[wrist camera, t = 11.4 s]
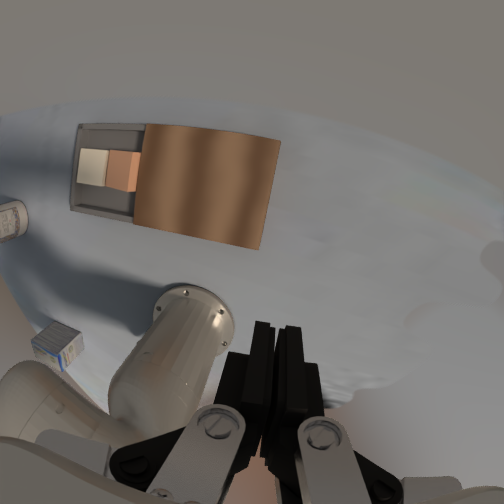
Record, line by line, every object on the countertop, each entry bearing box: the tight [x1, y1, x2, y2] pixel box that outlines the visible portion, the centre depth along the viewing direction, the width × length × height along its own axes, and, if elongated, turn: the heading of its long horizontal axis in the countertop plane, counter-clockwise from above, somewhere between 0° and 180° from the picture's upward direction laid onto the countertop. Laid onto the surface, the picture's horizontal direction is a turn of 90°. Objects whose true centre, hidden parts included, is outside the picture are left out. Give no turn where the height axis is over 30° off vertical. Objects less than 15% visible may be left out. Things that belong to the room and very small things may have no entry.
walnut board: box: [133, 124, 281, 250], centre depth 32 cm, size 16×13×3 cm
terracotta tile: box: [105, 150, 141, 192], centre depth 32 cm, size 5×5×2 cm
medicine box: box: [31, 321, 84, 372], centre depth 41 cm, size 8×4×9 cm, turn 80°
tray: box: [70, 124, 146, 223], centre depth 33 cm, size 12×13×2 cm
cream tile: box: [77, 148, 110, 187], centre depth 33 cm, size 5×5×2 cm
